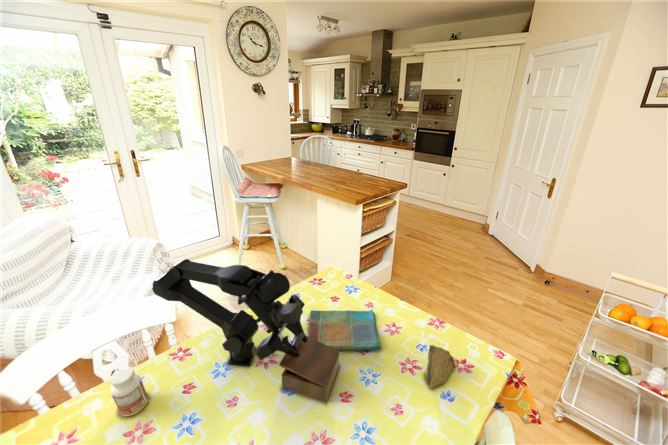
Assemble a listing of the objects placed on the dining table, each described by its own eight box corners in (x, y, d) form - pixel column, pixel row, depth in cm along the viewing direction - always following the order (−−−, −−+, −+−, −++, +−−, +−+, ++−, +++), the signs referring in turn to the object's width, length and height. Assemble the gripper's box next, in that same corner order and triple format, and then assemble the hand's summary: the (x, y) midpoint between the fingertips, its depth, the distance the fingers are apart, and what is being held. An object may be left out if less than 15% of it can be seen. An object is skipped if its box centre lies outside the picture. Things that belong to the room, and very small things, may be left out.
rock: (450, 349, 89) (419, 347, 88) (465, 346, 81) (432, 343, 80) (456, 390, 83) (423, 388, 82) (472, 391, 76) (436, 388, 75)
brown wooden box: (282, 388, 79) (281, 374, 77) (299, 355, 89) (299, 342, 87) (326, 402, 75) (326, 388, 73) (338, 366, 85) (339, 352, 83)
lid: (278, 365, 75) (282, 352, 73) (297, 333, 86) (300, 320, 83) (326, 388, 73) (331, 375, 71) (339, 352, 83) (343, 340, 81)
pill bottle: (128, 394, 76) (115, 364, 72) (152, 392, 77) (142, 362, 73) (114, 418, 71) (100, 387, 66) (140, 416, 71) (128, 385, 67)
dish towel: (381, 352, 90) (382, 346, 89) (306, 351, 90) (306, 345, 89) (374, 313, 106) (374, 308, 105) (310, 313, 106) (310, 307, 105)
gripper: (264, 319, 65) (309, 368, 67) (298, 274, 81) (333, 315, 83) (237, 336, 70) (279, 381, 72) (274, 291, 87) (307, 328, 88)
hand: (302, 348), depth 79 cm, fingers closed on lid, 5 cm apart
